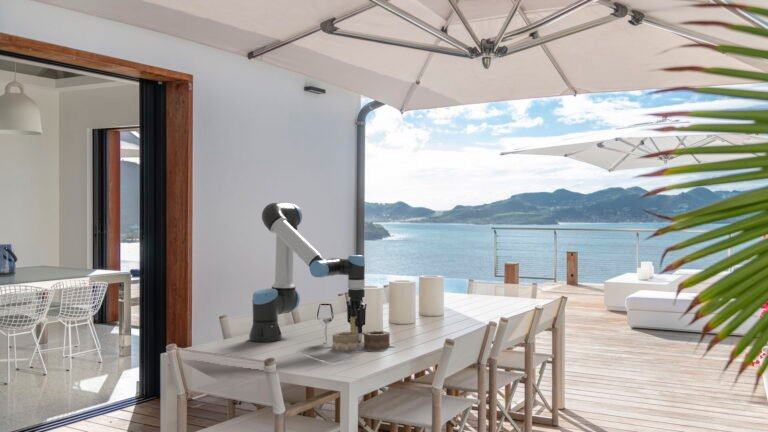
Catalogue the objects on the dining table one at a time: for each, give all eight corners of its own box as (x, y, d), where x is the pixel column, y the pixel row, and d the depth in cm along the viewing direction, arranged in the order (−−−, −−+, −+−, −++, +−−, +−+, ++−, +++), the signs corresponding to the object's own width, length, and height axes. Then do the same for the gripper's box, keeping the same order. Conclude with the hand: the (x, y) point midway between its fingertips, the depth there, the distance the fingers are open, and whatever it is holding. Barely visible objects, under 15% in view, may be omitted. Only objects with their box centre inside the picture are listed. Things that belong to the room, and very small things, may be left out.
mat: (350, 355, 278) (350, 354, 278) (327, 348, 293) (327, 347, 293) (396, 348, 292) (396, 347, 292) (372, 342, 307) (372, 340, 307)
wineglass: (320, 346, 298) (320, 306, 298) (314, 343, 305) (313, 304, 305) (337, 344, 302) (337, 304, 302) (330, 341, 309) (330, 302, 309)
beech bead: (341, 351, 284) (341, 337, 283) (328, 347, 292) (328, 333, 292) (362, 348, 290) (362, 334, 290) (349, 344, 298) (349, 331, 298)
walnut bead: (374, 350, 286) (373, 336, 286) (360, 346, 295) (360, 332, 295) (393, 347, 292) (393, 333, 292) (379, 343, 301) (379, 330, 301)
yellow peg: (355, 341, 304) (355, 317, 304) (350, 340, 307) (350, 316, 307) (361, 340, 306) (362, 317, 306) (357, 339, 309) (357, 315, 309)
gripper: (373, 289, 302) (373, 341, 302) (353, 286, 315) (352, 335, 316) (359, 291, 297) (359, 343, 297) (339, 287, 311) (339, 337, 311)
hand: (356, 339), depth 307 cm, fingers closed on yellow peg, 4 cm apart
